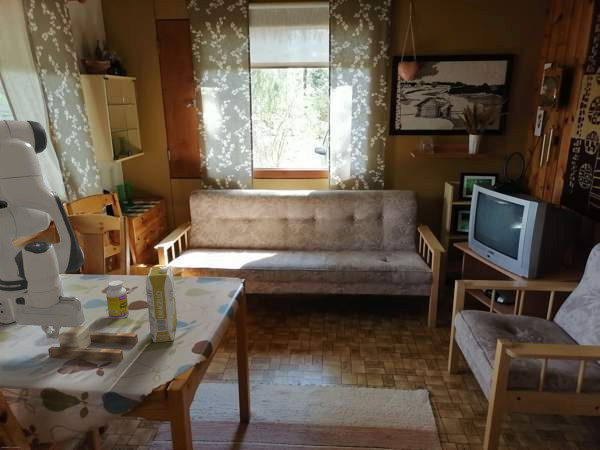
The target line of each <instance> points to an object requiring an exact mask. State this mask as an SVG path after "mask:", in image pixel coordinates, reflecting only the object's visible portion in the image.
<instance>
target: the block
mask: <svg viewBox="0 0 600 450" xmlns="http://www.w3.org/2000/svg"><path fill="white" fill-rule="evenodd" d="M90 332H91V331H90V327H89V326H86V325H80V326H79V327H77V328H74V327H66V329H64V330H63V331H62V332H61V333H59V335H58V343H59V347H69V348H87V349H88V348H89V347H90V346H91V345H92V342H91V338H90Z"/></svg>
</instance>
